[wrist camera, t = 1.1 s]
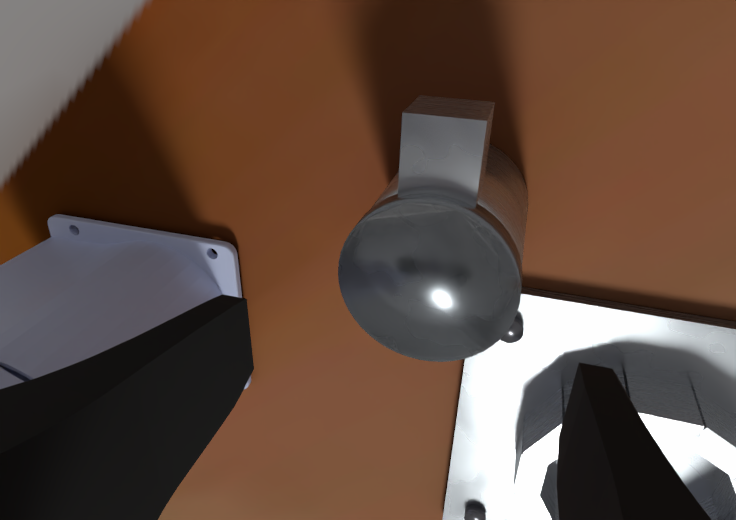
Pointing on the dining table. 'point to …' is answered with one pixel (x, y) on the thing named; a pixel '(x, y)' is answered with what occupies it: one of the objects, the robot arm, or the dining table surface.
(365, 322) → the cylinder with square knob
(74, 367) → the robot arm
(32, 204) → the dining table surface
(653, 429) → the duct flange
